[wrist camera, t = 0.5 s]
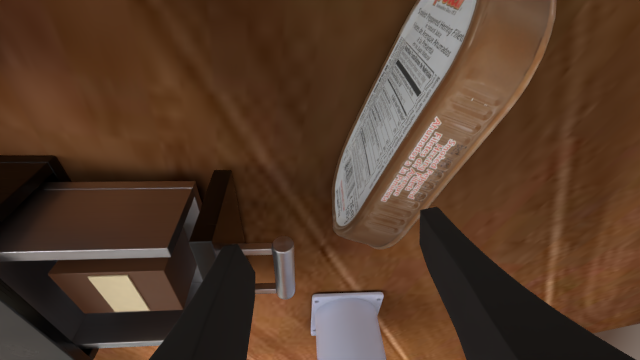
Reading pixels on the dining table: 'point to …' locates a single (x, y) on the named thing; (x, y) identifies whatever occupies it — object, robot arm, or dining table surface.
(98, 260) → the packet
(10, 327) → the black box
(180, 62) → the dining table surface
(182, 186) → the drawer
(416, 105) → the tin
